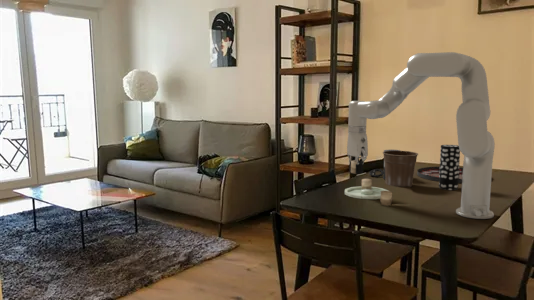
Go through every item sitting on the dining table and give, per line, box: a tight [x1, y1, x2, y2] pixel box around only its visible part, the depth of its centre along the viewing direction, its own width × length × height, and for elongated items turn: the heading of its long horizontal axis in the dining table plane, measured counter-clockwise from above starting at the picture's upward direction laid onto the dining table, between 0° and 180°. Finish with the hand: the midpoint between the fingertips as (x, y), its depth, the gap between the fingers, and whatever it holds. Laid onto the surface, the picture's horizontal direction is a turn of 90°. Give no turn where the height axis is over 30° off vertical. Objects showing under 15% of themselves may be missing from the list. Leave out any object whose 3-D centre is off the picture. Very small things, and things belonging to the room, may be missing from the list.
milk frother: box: [369, 149, 402, 180], centre depth 227 cm, size 14×16×15 cm
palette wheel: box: [416, 166, 463, 184], centre depth 230 cm, size 35×35×3 cm
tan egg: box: [350, 160, 357, 175], centre depth 186 cm, size 4×4×5 cm
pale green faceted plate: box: [344, 185, 389, 200], centre depth 189 cm, size 19×19×2 cm
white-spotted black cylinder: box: [438, 144, 461, 191], centre depth 201 cm, size 8×8×20 cm
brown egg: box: [379, 190, 393, 206], centre depth 175 cm, size 4×4×5 cm
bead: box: [361, 178, 373, 190], centre depth 194 cm, size 4×4×5 cm
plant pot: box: [382, 150, 419, 188], centre depth 208 cm, size 16×16×16 cm
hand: (356, 171), depth 186 cm, fingers closed on tan egg, 4 cm apart
